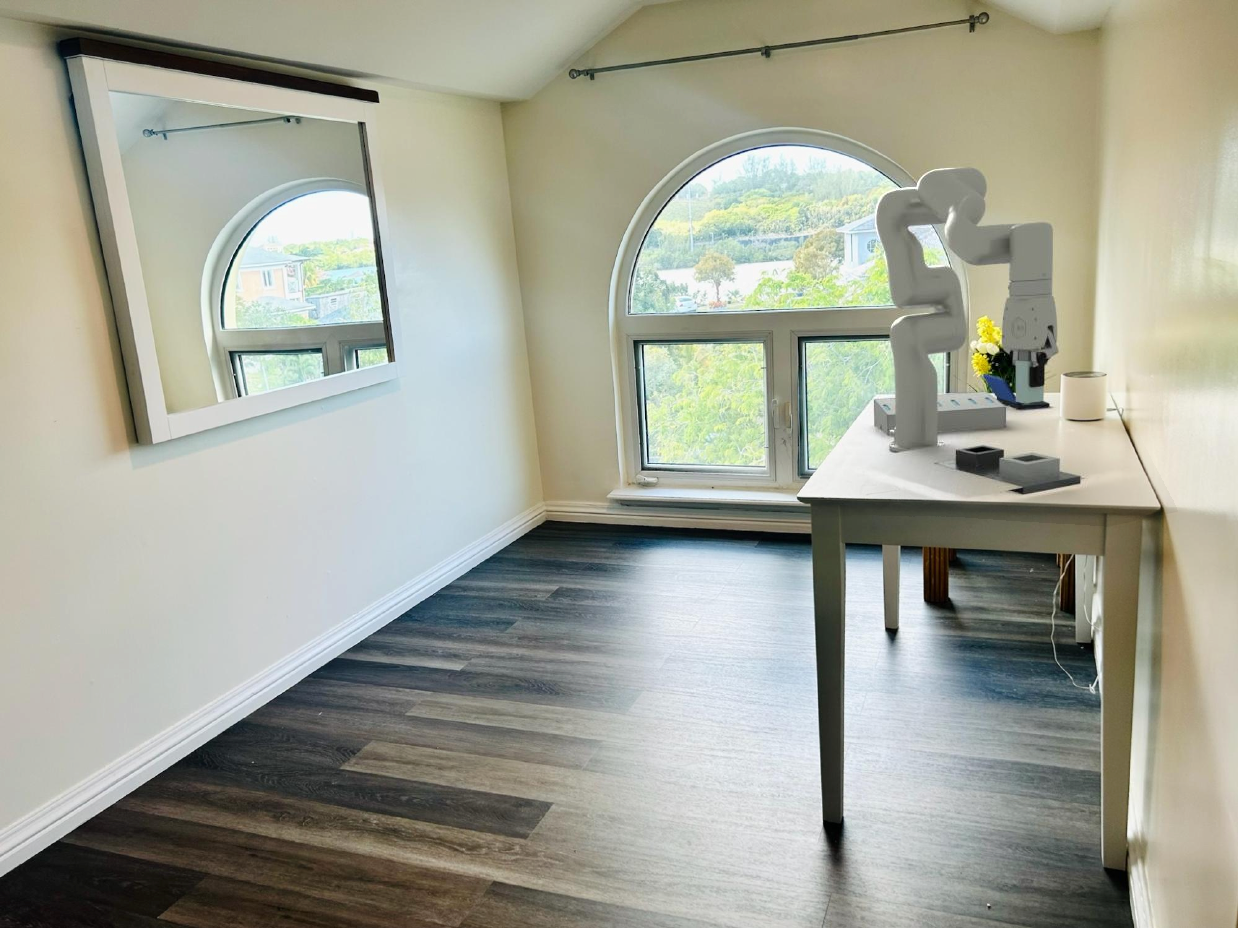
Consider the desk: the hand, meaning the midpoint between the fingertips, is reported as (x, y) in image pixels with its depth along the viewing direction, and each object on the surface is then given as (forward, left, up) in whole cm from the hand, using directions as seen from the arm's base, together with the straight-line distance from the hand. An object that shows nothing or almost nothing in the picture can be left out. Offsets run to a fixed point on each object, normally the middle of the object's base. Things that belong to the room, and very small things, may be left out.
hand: (1029, 384), depth 186 cm
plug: (0, 0, -3) cm, 3 cm away
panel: (-7, 0, -20) cm, 21 cm away
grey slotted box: (-59, +26, -20) cm, 67 cm away
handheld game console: (-69, +61, -20) cm, 94 cm away
